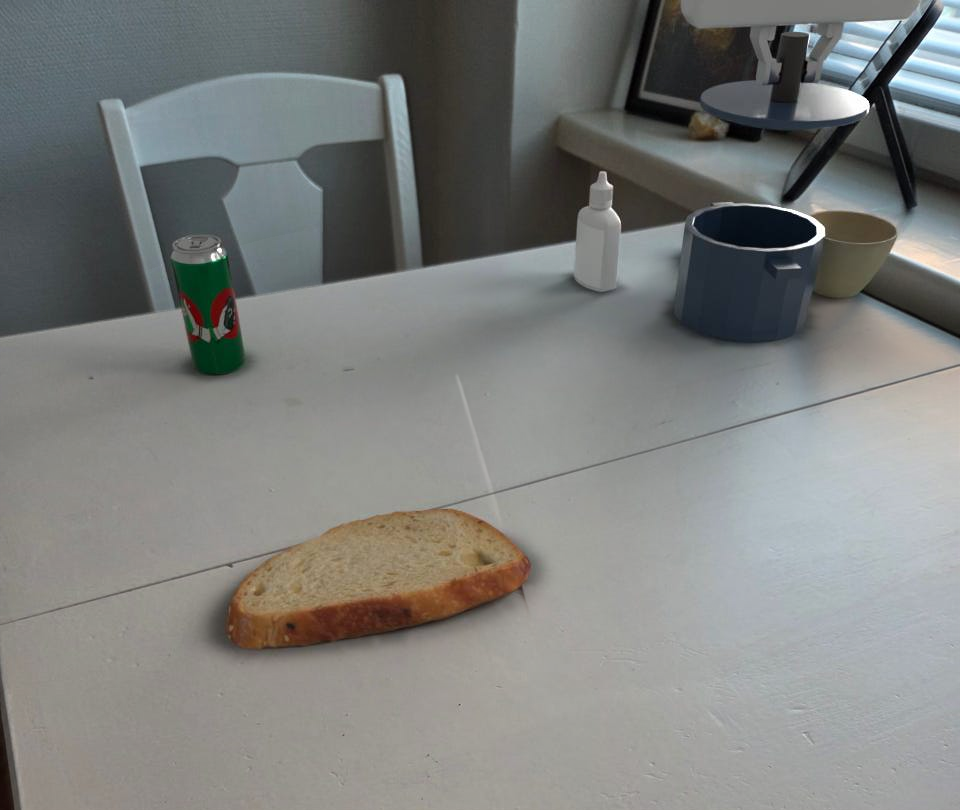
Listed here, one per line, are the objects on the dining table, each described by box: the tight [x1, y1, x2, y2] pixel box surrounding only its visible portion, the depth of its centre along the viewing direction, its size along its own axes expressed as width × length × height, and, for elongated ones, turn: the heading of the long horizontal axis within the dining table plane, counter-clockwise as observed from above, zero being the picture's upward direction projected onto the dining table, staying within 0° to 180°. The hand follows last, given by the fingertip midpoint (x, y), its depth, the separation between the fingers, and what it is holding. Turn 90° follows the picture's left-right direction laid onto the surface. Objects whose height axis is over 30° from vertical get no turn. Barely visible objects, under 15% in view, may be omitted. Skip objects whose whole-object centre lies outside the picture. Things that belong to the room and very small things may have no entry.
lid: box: [699, 31, 870, 131], centre depth 86 cm, size 15×15×6 cm
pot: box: [672, 201, 825, 344], centre depth 101 cm, size 14×19×10 cm
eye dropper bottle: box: [573, 170, 622, 293], centre depth 107 cm, size 4×6×12 cm
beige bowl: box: [806, 209, 900, 299], centre depth 107 cm, size 10×10×7 cm
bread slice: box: [225, 508, 532, 651], centre depth 68 cm, size 18×18×4 cm
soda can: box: [170, 234, 247, 376], centre depth 92 cm, size 5×5×12 cm
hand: (786, 82), depth 87 cm, fingers closed on lid, 2 cm apart
